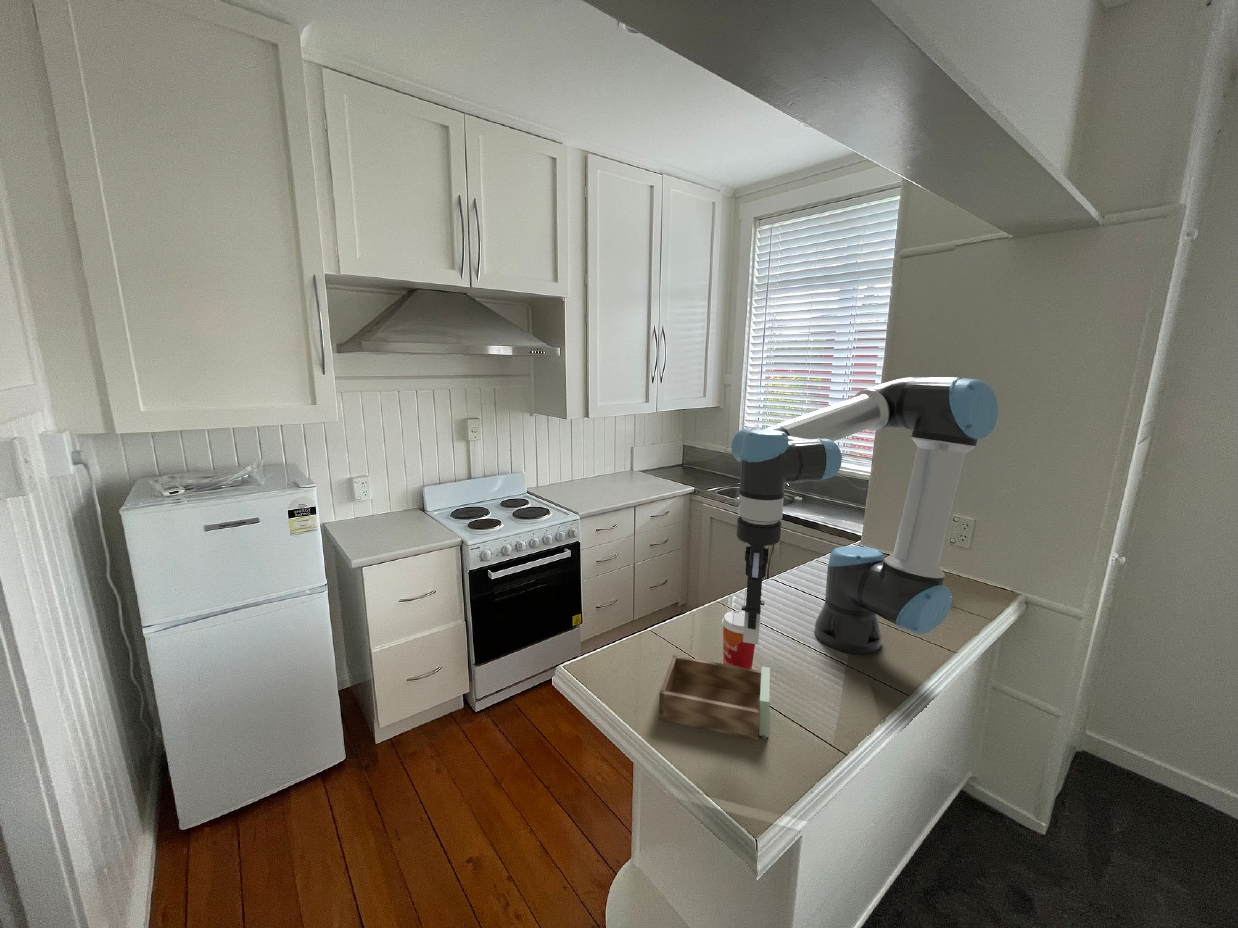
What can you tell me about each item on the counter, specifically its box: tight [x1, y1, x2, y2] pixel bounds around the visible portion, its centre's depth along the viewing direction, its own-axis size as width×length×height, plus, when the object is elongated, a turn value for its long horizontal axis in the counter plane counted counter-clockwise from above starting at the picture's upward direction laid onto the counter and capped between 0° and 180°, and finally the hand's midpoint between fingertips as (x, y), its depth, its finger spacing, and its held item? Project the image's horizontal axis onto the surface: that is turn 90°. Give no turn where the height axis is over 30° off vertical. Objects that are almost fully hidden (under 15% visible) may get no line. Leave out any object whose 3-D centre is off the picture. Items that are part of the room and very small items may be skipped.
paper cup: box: [721, 610, 756, 669], centre depth 108 cm, size 8×8×14 cm
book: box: [758, 666, 771, 740], centre depth 95 cm, size 2×11×8 cm, turn 163°
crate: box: [658, 654, 761, 741], centre depth 98 cm, size 18×13×6 cm
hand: (750, 640), depth 94 cm, fingers closed
